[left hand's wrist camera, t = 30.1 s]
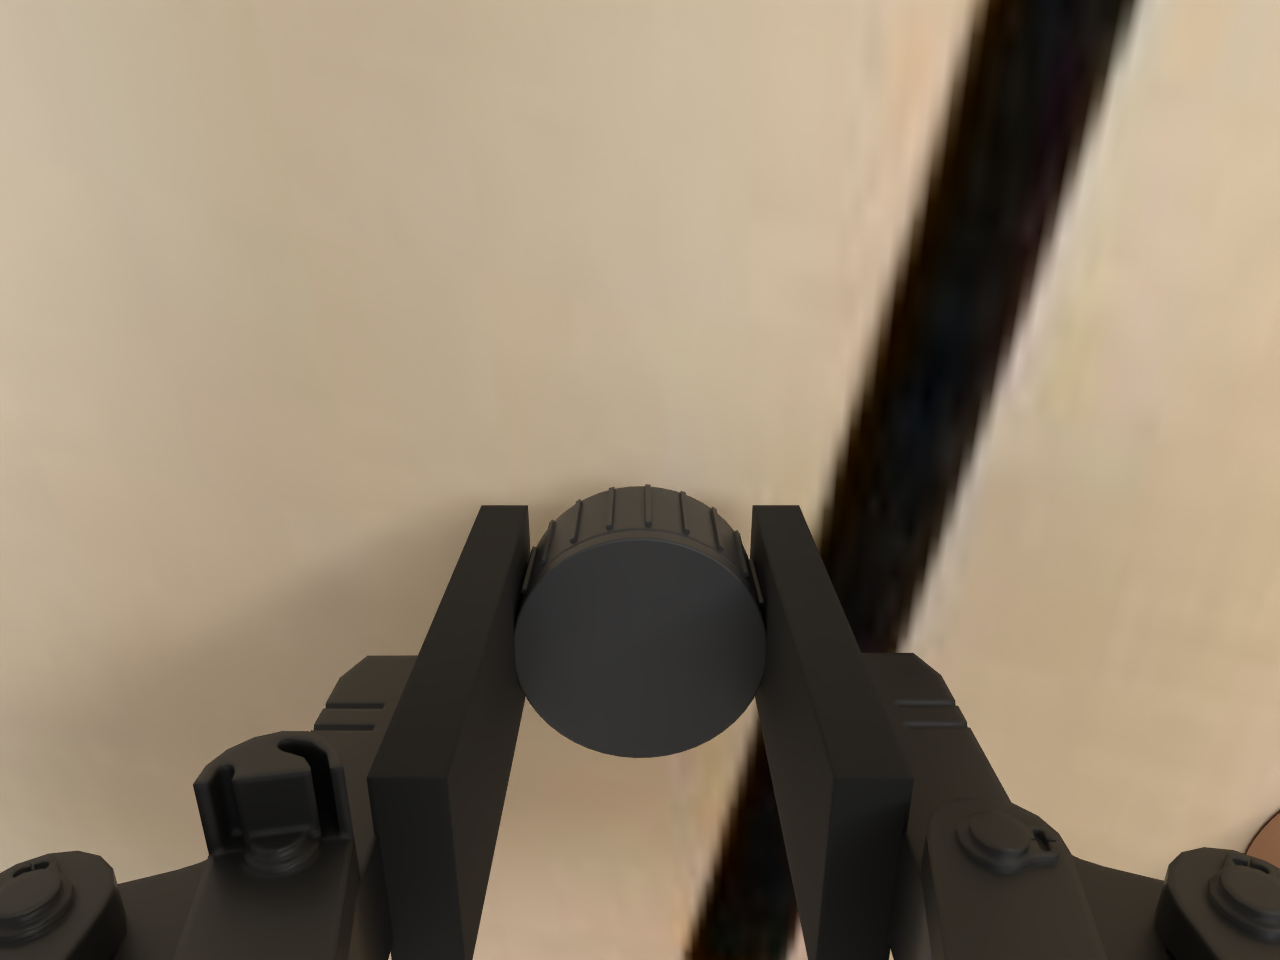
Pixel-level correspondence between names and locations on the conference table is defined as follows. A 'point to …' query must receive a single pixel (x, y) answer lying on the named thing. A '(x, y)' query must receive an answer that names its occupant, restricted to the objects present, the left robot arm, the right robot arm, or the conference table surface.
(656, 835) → the conference table surface
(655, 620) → the cap
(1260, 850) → the bottle
